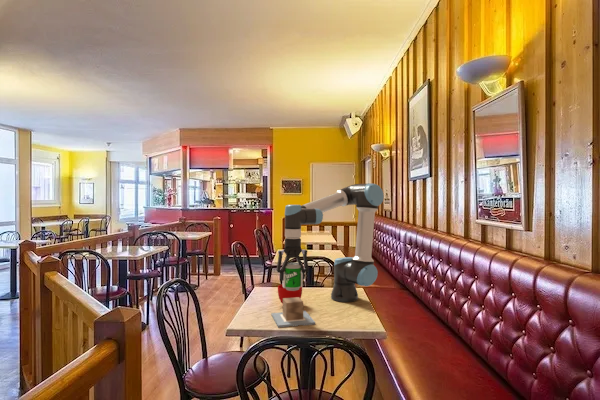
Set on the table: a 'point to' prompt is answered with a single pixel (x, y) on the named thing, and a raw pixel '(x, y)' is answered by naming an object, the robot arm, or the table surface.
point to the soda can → (292, 276)
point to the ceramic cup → (288, 293)
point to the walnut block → (292, 308)
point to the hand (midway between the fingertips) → (292, 286)
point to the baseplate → (282, 321)
